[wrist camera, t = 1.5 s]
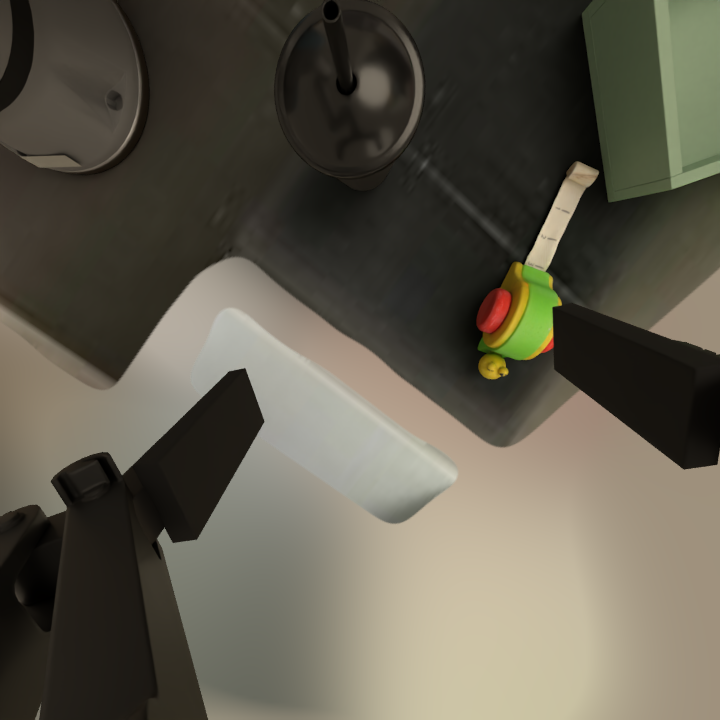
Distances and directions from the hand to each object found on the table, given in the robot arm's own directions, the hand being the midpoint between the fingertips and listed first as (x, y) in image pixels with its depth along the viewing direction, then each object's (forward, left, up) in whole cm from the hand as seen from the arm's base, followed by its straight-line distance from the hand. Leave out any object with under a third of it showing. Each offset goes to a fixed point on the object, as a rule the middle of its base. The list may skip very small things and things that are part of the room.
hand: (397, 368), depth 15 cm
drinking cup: (-12, +2, -20) cm, 24 cm away
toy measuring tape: (+2, +13, -20) cm, 24 cm away
